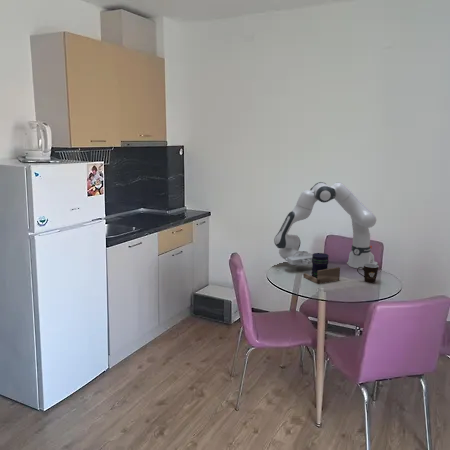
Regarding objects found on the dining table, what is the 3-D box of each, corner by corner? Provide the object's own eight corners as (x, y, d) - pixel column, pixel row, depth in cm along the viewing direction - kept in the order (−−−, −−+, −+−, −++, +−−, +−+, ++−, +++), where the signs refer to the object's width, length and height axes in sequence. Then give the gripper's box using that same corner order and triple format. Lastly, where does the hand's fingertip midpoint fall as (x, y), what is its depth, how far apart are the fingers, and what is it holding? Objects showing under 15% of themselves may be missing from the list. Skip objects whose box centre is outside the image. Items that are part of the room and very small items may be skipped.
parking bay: (303, 277, 278) (304, 264, 277) (324, 273, 286) (324, 261, 284) (318, 284, 266) (318, 271, 264) (339, 280, 273) (340, 267, 272)
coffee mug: (378, 280, 273) (380, 264, 271) (375, 284, 266) (376, 268, 264) (359, 277, 279) (361, 261, 277) (355, 281, 272) (356, 265, 270)
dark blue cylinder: (319, 281, 270) (320, 258, 267) (307, 277, 278) (308, 254, 275) (330, 279, 275) (332, 255, 272) (319, 274, 283) (320, 252, 280)
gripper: (283, 254, 291) (296, 259, 279) (308, 251, 301) (322, 256, 289) (283, 263, 293) (295, 269, 281) (308, 260, 302) (321, 265, 290)
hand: (309, 262), depth 285 cm, fingers closed
